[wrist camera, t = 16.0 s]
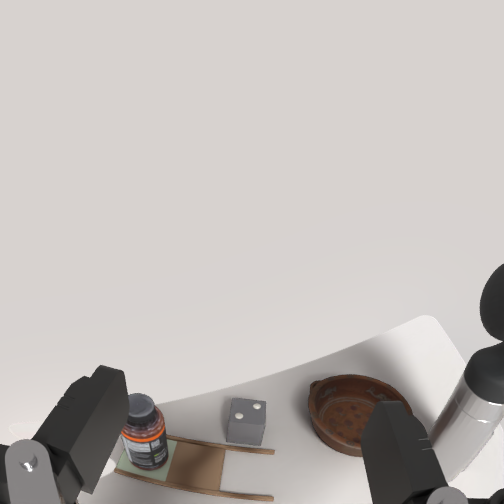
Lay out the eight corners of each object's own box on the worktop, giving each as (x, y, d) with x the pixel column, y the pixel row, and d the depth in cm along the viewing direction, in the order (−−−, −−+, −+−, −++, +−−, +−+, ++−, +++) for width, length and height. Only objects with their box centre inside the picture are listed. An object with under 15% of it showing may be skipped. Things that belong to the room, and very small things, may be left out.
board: (274, 452, 40) (274, 450, 40) (273, 501, 31) (273, 499, 31) (133, 428, 40) (133, 426, 40) (114, 472, 32) (113, 470, 32)
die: (262, 421, 46) (266, 400, 44) (261, 445, 41) (266, 425, 39) (230, 418, 46) (232, 396, 44) (226, 441, 41) (228, 420, 39)
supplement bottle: (138, 434, 39) (128, 380, 35) (175, 448, 38) (171, 395, 34) (120, 462, 33) (104, 410, 30) (159, 478, 32) (149, 429, 29)
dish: (342, 376, 59) (349, 356, 57) (428, 436, 42) (440, 417, 40) (273, 409, 49) (278, 388, 47) (367, 494, 32) (381, 477, 30)
